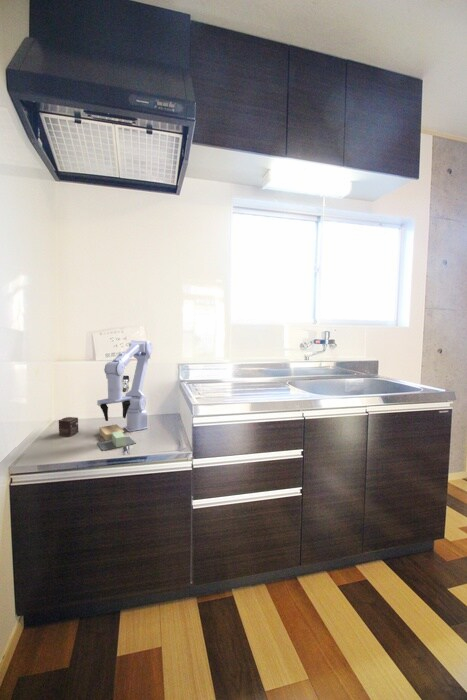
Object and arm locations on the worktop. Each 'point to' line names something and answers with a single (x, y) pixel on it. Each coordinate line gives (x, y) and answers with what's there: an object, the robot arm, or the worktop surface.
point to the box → (68, 426)
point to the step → (109, 431)
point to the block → (118, 439)
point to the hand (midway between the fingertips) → (115, 419)
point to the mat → (109, 444)
